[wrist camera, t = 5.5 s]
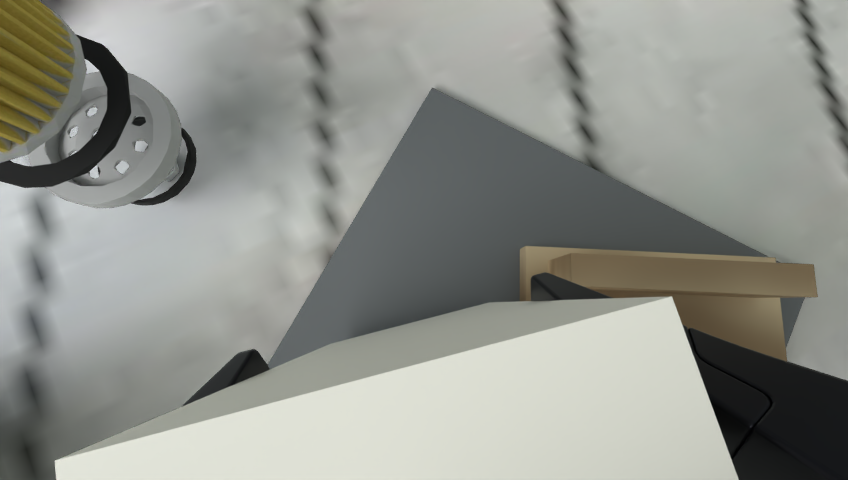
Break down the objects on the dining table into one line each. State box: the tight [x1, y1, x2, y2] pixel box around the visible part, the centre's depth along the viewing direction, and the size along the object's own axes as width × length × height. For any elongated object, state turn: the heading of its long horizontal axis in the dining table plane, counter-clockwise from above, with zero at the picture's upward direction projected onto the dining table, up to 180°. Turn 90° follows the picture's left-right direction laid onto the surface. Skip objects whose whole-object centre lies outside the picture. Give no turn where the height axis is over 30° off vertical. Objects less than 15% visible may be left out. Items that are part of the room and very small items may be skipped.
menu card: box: [55, 296, 739, 480], centre depth 10 cm, size 2×7×12 cm, turn 104°
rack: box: [520, 246, 818, 361], centre depth 15 cm, size 7×11×4 cm, turn 87°
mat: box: [268, 88, 805, 369], centre depth 17 cm, size 20×18×1 cm
